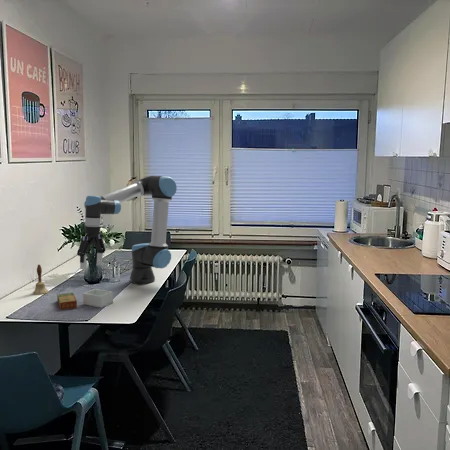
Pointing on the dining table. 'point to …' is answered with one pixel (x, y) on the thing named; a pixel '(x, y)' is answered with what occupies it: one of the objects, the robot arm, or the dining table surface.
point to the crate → (98, 298)
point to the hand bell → (40, 283)
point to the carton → (67, 301)
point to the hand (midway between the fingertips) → (91, 267)
